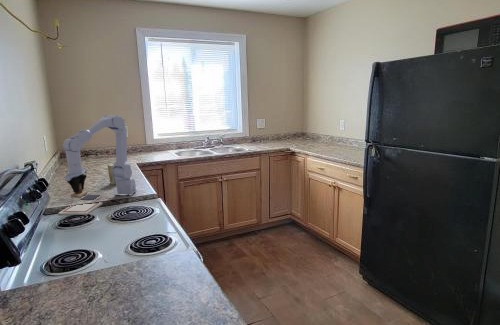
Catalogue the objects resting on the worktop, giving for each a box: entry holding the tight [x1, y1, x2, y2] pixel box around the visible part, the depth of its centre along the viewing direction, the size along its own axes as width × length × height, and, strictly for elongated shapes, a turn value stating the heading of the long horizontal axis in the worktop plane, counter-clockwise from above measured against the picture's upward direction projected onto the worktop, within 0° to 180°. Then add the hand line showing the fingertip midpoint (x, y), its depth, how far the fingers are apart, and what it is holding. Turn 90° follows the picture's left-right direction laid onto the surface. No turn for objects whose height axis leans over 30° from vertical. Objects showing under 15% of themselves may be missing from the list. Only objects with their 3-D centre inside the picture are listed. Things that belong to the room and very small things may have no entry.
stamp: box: [70, 183, 88, 199], centre depth 150 cm, size 5×5×6 cm
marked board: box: [57, 201, 103, 216], centre depth 152 cm, size 14×14×1 cm
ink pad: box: [79, 194, 103, 200], centre depth 165 cm, size 8×8×2 cm
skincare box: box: [107, 163, 116, 185], centre depth 193 cm, size 6×4×12 cm
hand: (78, 190), depth 150 cm, fingers closed on stamp, 3 cm apart
